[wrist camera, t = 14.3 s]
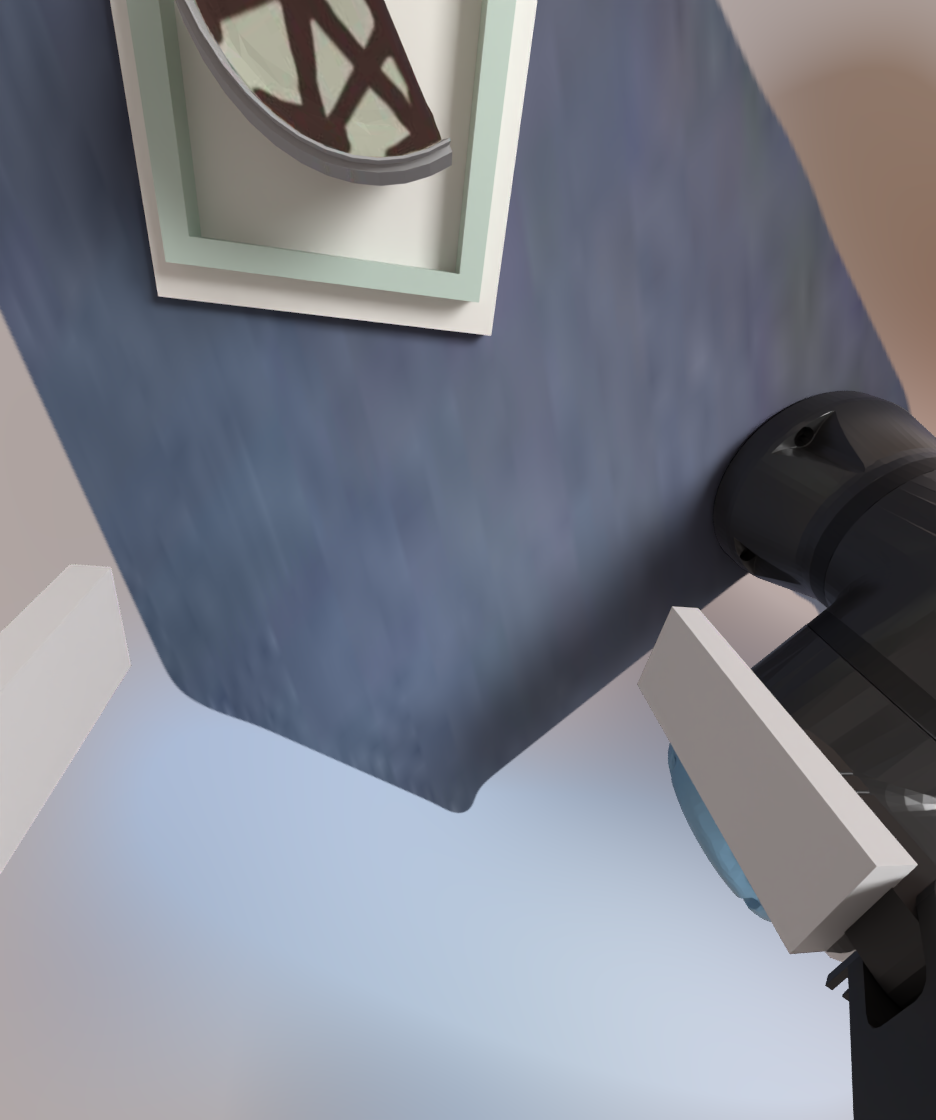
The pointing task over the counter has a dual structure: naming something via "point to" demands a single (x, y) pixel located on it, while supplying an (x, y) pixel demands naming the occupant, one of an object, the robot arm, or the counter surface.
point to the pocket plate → (330, 178)
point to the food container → (323, 84)
